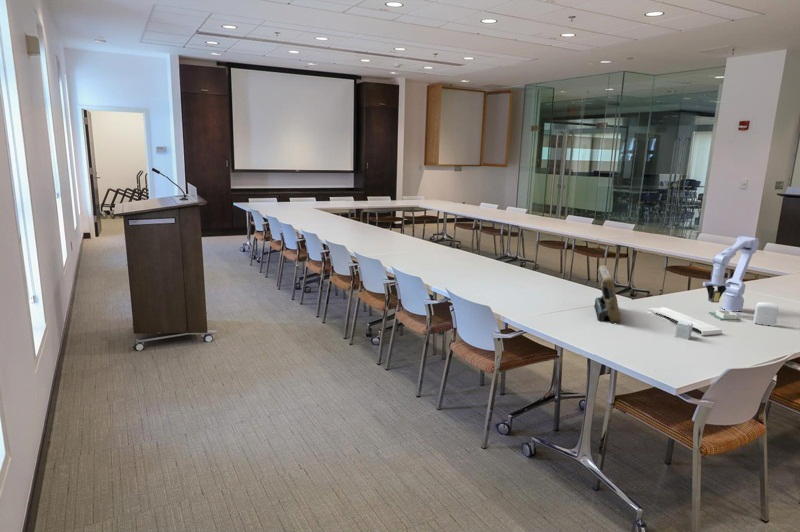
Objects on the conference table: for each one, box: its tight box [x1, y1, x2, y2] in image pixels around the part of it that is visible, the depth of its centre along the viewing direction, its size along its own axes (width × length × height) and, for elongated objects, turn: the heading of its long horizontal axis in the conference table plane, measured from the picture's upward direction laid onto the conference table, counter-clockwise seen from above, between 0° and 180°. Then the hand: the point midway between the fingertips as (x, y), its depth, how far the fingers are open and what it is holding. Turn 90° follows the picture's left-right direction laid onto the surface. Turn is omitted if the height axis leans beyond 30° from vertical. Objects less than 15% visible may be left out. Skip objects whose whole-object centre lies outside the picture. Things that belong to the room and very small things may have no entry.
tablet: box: [593, 264, 622, 325], centre depth 287 cm, size 33×14×25 cm, turn 169°
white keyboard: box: [646, 306, 723, 337], centre depth 280 cm, size 12×4×40 cm
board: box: [708, 309, 742, 321], centre depth 293 cm, size 11×12×4 cm
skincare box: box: [674, 320, 694, 341], centre depth 258 cm, size 6×6×7 cm
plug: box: [707, 290, 721, 303], centre depth 298 cm, size 4×4×6 cm
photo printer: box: [752, 301, 779, 327], centre depth 282 cm, size 10×4×12 cm, turn 66°
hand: (714, 298), depth 298 cm, fingers closed on plug, 4 cm apart
